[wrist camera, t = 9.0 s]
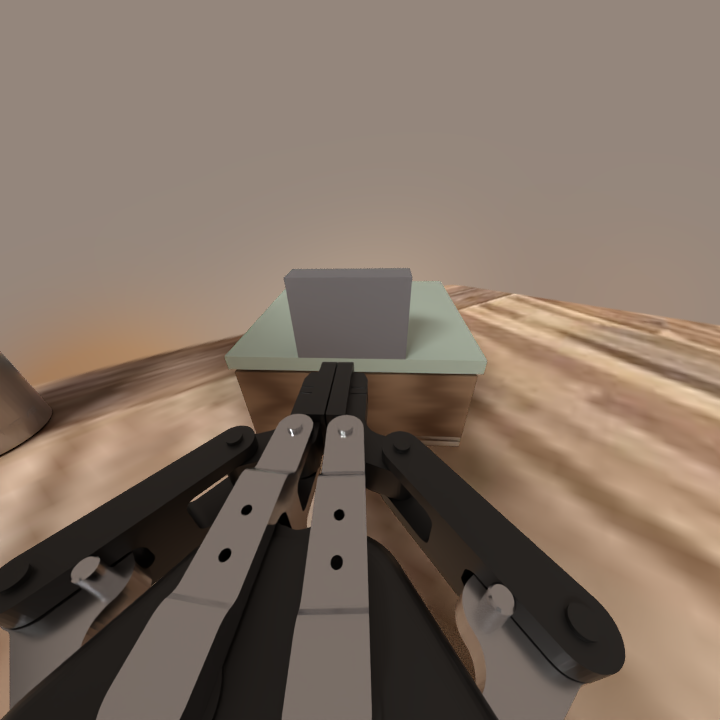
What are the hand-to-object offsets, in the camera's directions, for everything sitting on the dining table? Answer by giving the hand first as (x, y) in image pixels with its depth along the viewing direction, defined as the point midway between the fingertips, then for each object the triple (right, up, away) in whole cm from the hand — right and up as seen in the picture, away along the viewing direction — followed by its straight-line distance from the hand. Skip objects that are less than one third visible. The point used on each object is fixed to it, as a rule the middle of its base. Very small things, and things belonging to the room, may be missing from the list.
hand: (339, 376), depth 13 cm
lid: (+1, +5, +15) cm, 16 cm away
